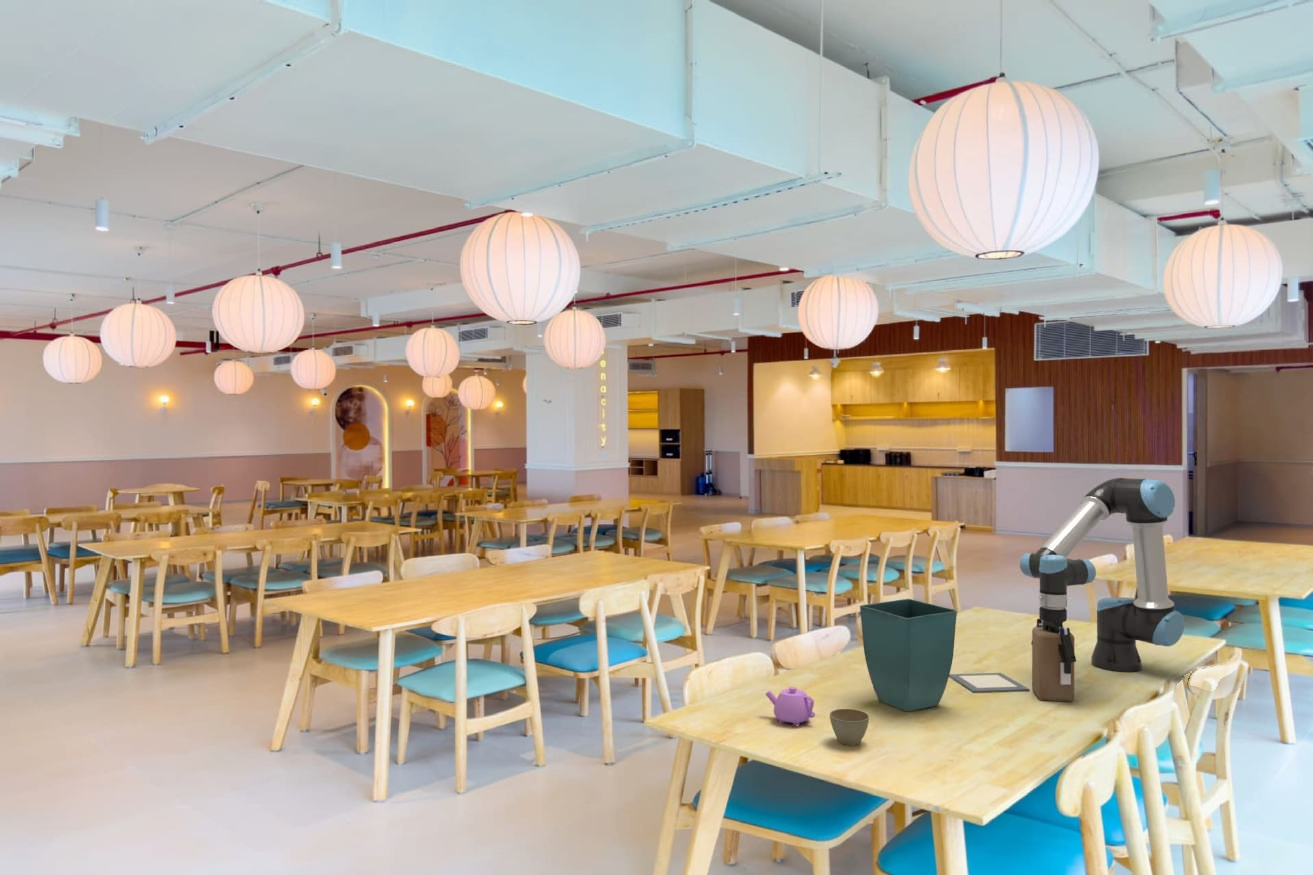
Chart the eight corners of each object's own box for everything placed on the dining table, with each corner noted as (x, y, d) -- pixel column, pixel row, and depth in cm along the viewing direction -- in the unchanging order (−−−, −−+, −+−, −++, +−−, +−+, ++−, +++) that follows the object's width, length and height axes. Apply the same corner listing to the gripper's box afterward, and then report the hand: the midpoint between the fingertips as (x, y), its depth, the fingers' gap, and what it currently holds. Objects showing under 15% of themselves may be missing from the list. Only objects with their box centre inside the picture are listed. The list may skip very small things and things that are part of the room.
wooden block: (1075, 702, 256) (1075, 634, 256) (1038, 700, 258) (1039, 633, 258) (1066, 692, 265) (1066, 627, 265) (1031, 690, 267) (1031, 625, 267)
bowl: (824, 736, 228) (824, 708, 228) (862, 734, 229) (862, 707, 229) (835, 750, 218) (835, 721, 218) (874, 748, 219) (874, 720, 219)
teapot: (806, 731, 232) (806, 696, 232) (756, 720, 241) (756, 686, 241) (823, 720, 240) (823, 687, 240) (774, 710, 249) (774, 677, 249)
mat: (1000, 674, 285) (1000, 672, 285) (1029, 690, 267) (1029, 688, 267) (948, 676, 283) (948, 673, 283) (973, 692, 265) (973, 690, 265)
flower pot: (906, 718, 242) (906, 617, 241) (858, 699, 259) (858, 604, 259) (958, 708, 251) (958, 610, 251) (908, 689, 269) (908, 598, 268)
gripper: (1019, 599, 273) (1019, 666, 274) (1064, 616, 249) (1064, 690, 249) (1042, 598, 274) (1042, 665, 274) (1089, 615, 249) (1089, 689, 249)
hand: (1052, 677), depth 262 cm, fingers open, 13 cm apart
